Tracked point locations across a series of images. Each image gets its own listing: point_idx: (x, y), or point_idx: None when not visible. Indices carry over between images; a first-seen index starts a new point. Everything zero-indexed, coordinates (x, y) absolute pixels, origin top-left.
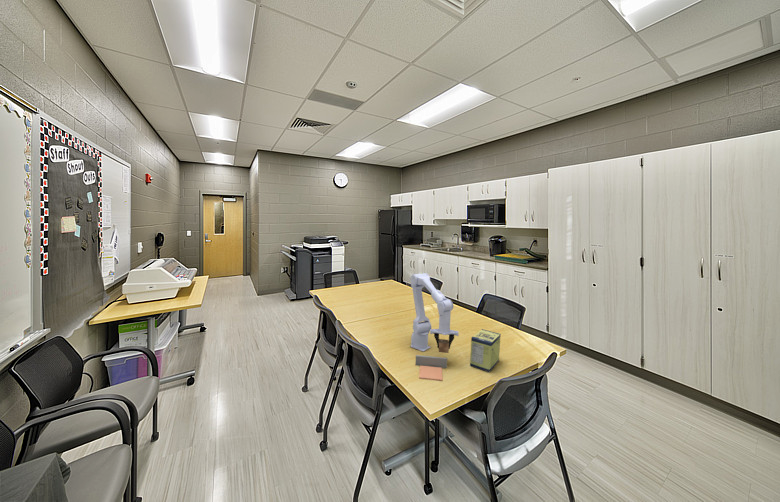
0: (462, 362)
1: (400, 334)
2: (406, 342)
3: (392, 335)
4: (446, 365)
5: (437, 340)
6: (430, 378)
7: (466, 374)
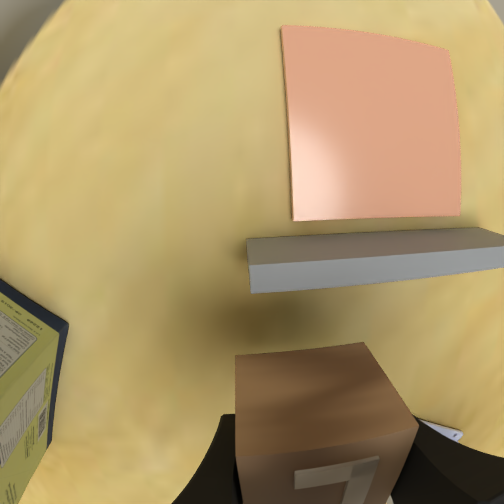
0: (124, 361)
1: None
2: None
3: None
4: (251, 244)
5: (451, 455)
6: (376, 34)
7: (80, 181)
